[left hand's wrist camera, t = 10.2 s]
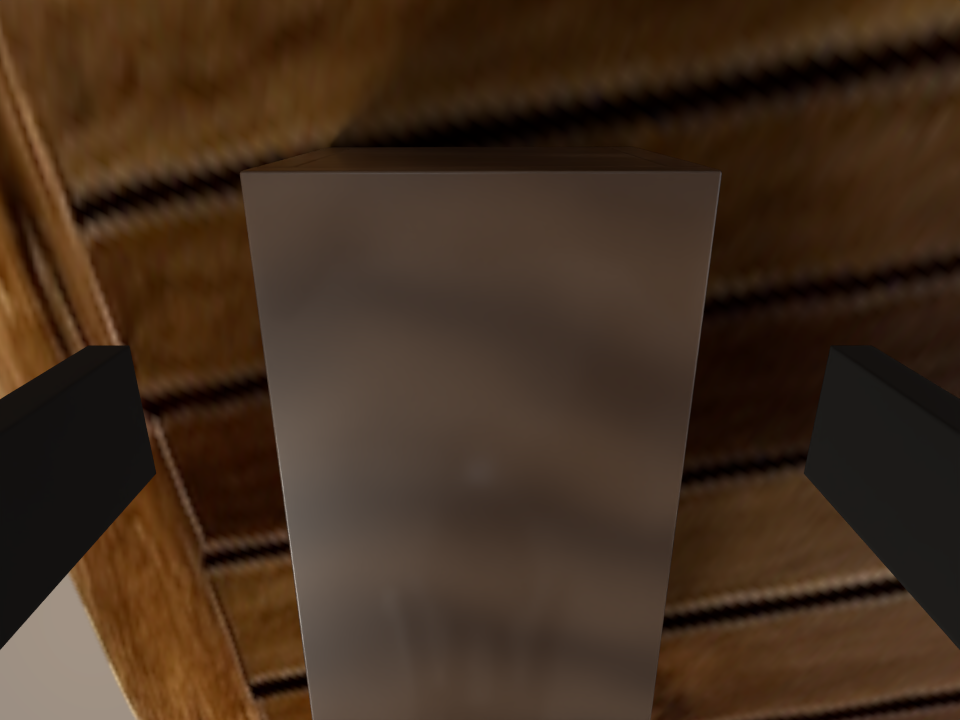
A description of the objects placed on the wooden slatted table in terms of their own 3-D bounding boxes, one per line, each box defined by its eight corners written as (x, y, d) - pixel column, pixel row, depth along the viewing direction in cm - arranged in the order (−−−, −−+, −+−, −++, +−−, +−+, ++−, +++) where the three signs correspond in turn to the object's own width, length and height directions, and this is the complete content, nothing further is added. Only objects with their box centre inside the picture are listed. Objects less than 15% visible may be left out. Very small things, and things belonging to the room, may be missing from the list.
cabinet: (598, 578, 32) (645, 763, 23) (363, 578, 32) (317, 763, 23) (634, 146, 24) (723, 169, 15) (326, 147, 24) (238, 171, 15)
